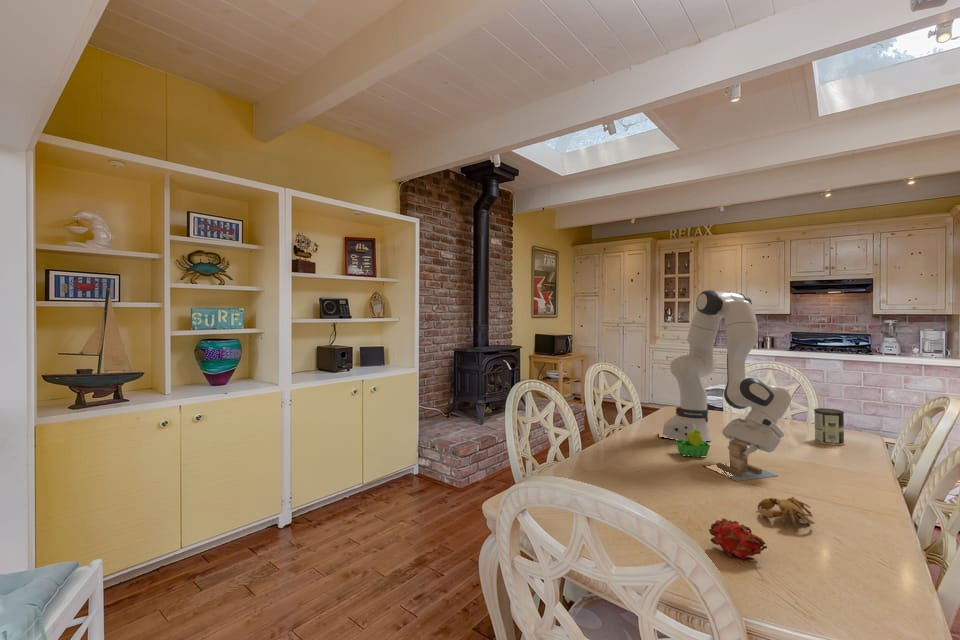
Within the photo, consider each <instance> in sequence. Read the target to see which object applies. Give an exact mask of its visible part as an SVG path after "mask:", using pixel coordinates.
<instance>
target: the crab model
mask: <svg viewBox="0 0 960 640" xmlns="http://www.w3.org/2000/svg"><path fill="white" fill-rule="evenodd" d="M775 506H778V507H779V509H780V510H772V509H773V508H774V507H775ZM808 508H809V509H811V508H812V507H811V506H810V505H808V504H807V503H805V502H802V501H800V500H799V499H796V498H795V496H791V498H786V499H785V498H784V499H783V498H781V499H778V498H776V497H768V498H765V499H764V498H763V499H761V501H759V502H758V504H757V510H758V511H759V514H761V515H762V516H763V517H764V518H767V519H773V518H780V517H781V523H782V524H783V525H784V526H787V524H786V519H787V516H790V517H789V518H790V519H791V522H792V524H793V525H794V528H797V523H796V522H797V521H799V520H800V519H803V521H806V522H808V523H807V524H808V525H809V526H811V524H813V525H815V521H813V520H811V519H809V517H810V518H813V514H812V512H811V511H810V510H809V509H808Z"/></svg>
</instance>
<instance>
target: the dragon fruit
mask: <svg viewBox="0 0 960 640" xmlns="http://www.w3.org/2000/svg"><path fill="white" fill-rule="evenodd" d="M708 532H709V534H710V535H711V536H712V538H711V539H710V541H711V543H712V544H714V545H716V546H720V547H721V548H722V550H723V552H724V551H726V552H725V553H726V554H727V557H732V556H733V555H734V556H736V557H738V558H740V559H743V560H744V561H753V560H755V558H753V556H755V555H761V552H762V551H764V550H765V549H767V548H768V546H767V543H766V542H765V541H764V539H763V538H762V537H760V536H758V535H755V534H754V533H752V530H751V528H750V527H748V526H747V525H744V524H740V523H739V522H738V521H736V520H734V521H732V520H730V519H729V520H728V519H727V518H724V517H722V518H721V520H716V521H715V523H711V525H710V528H709V529H708ZM764 545H765V546H764Z"/></svg>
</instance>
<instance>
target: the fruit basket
mask: <svg viewBox="0 0 960 640" xmlns="http://www.w3.org/2000/svg"><path fill="white" fill-rule="evenodd" d="M687 438H688V440H689V441H688V440H676V441H675V444H676V448H677V450H678V453H679V452H680V453H681V454H682V455H685V456H688V455H689V456H707V457H708V453H709V451H710V448H711V445H709V444H708V442H704V441H702V437H701V435H700V432H699V431H698V430H694V431H692V432H690V433H689V434H688V436H687ZM680 453H679V454H680ZM681 454H680V455H681ZM682 455H681V456H682Z"/></svg>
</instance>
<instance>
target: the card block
mask: <svg viewBox="0 0 960 640" xmlns="http://www.w3.org/2000/svg"><path fill="white" fill-rule="evenodd" d="M728 443H729V444H728V446H729V449H728V450H729V451H728V452H729V454H728V455H729V462H730V467H731V468H734V469H736V470H739V471H741V472H748V464H749V462H748V457H747V456H744V455H743V454H742V451H743V450H744V449H748V445H747V444H746V443H743V442H740V441H734V442H730V441H729V442H728Z"/></svg>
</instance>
